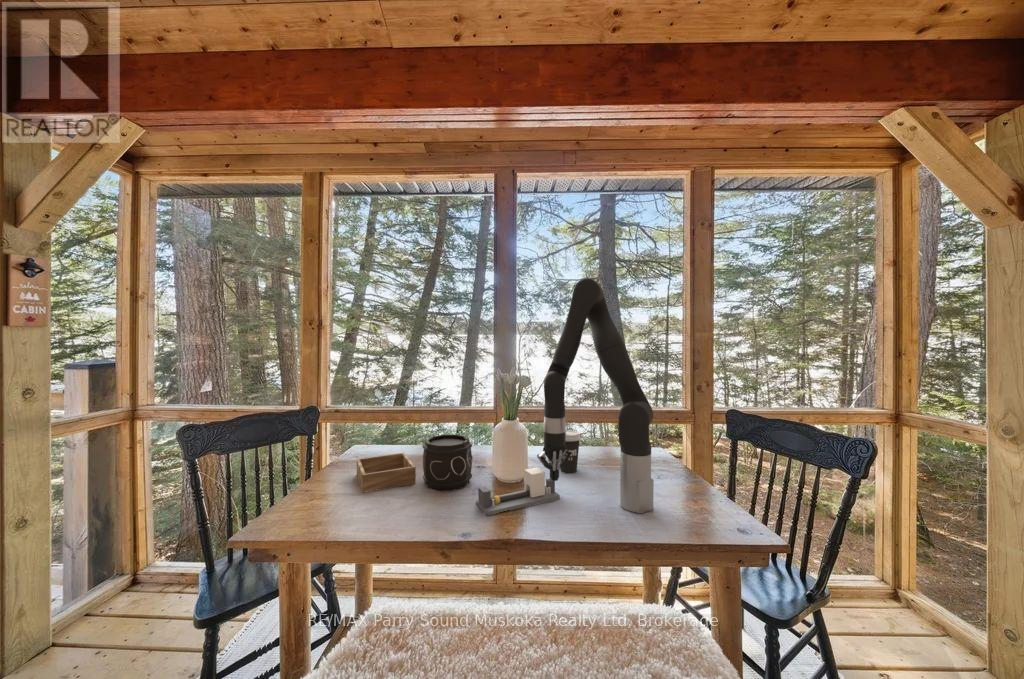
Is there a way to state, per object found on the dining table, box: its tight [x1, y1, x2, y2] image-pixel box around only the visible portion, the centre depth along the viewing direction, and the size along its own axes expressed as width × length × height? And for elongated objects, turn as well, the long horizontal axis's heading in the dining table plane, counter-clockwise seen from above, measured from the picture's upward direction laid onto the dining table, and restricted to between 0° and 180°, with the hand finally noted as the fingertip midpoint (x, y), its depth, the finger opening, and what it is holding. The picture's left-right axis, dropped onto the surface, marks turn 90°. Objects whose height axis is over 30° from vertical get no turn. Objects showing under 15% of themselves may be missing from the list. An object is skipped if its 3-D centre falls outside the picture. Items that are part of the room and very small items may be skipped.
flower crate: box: [356, 452, 417, 493], centre depth 148 cm, size 19×18×6 cm
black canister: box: [422, 433, 473, 492], centre depth 144 cm, size 18×18×16 cm
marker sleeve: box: [523, 466, 546, 498], centre depth 131 cm, size 5×5×8 cm
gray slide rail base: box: [475, 477, 561, 516], centre depth 128 cm, size 26×9×6 cm, turn 117°
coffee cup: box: [559, 429, 582, 474], centre depth 156 cm, size 10×10×15 cm
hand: (554, 480), depth 135 cm, fingers closed
